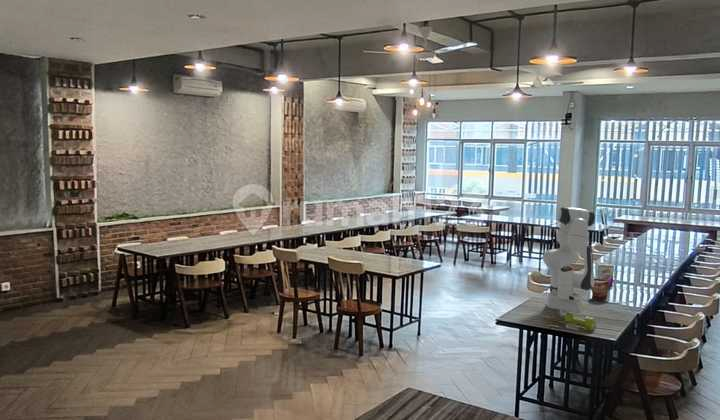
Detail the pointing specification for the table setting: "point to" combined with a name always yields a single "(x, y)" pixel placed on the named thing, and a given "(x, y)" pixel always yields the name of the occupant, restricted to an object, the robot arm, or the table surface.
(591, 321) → the dumbbell
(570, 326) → the beam slot
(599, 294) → the decorative planter
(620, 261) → the table surface
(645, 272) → the table surface
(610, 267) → the candy bar box
